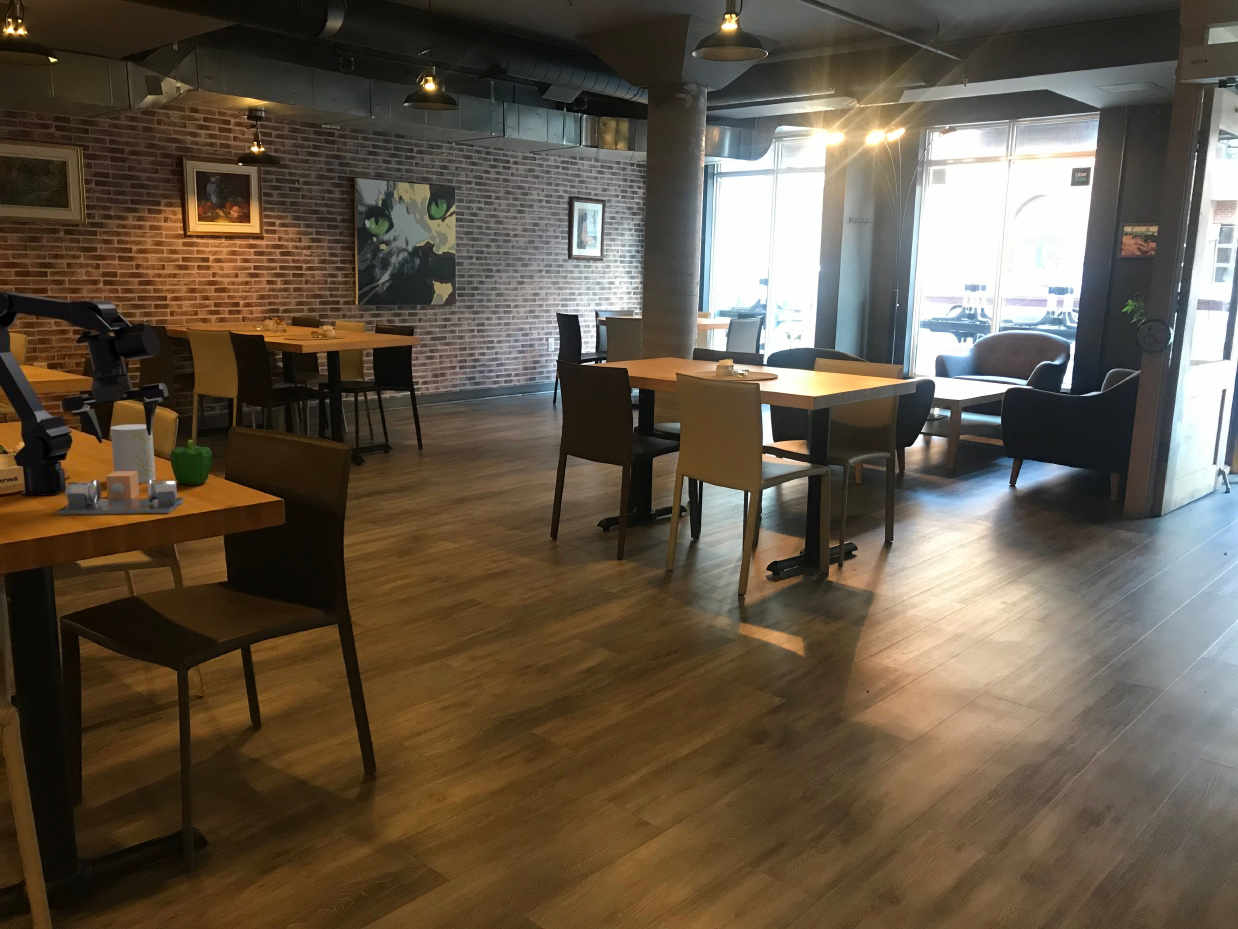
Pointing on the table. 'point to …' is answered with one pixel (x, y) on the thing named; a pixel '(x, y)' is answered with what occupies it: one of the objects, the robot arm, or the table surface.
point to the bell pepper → (191, 464)
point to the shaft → (162, 492)
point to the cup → (133, 450)
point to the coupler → (122, 484)
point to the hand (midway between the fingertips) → (125, 439)
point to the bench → (107, 502)
